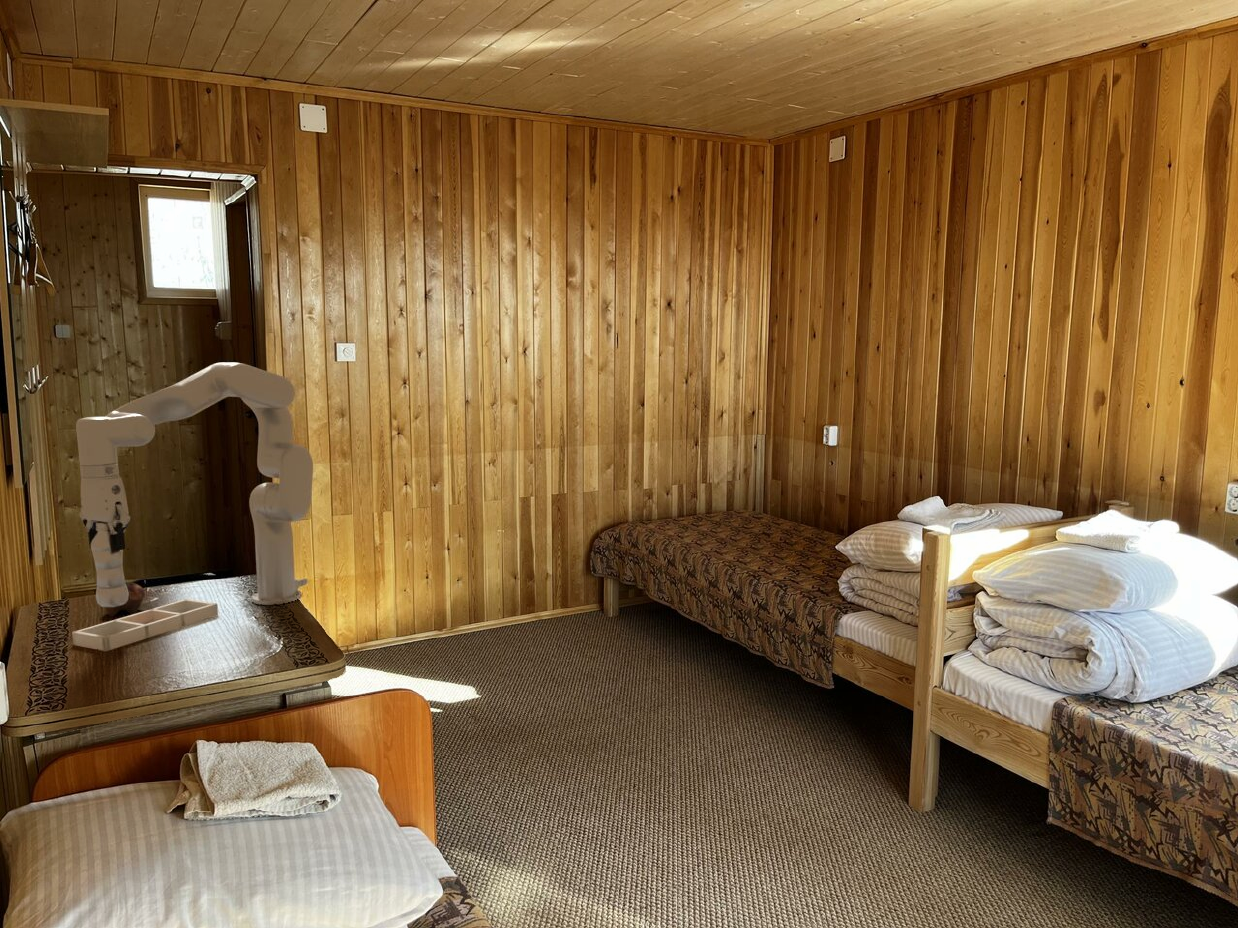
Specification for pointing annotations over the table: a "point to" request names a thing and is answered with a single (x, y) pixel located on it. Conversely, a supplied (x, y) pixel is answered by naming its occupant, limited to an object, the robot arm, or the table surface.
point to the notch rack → (144, 624)
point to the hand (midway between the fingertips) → (107, 548)
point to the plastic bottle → (108, 569)
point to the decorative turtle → (129, 600)
